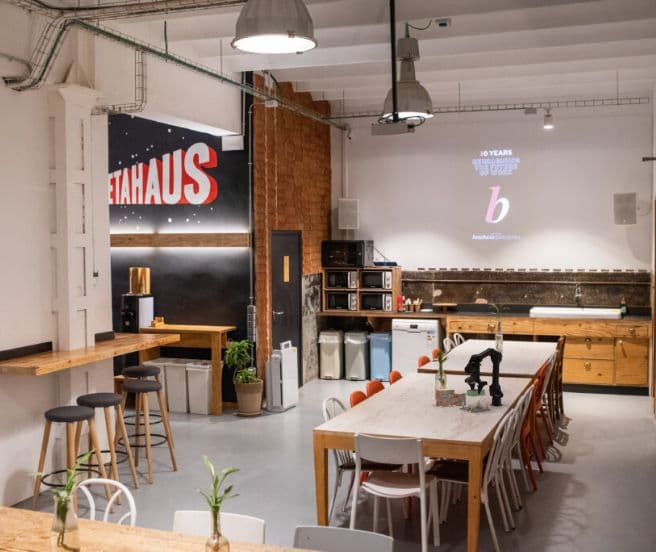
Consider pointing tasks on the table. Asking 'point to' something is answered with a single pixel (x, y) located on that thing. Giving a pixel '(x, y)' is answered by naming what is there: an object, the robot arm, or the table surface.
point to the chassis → (475, 407)
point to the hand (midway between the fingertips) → (475, 393)
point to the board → (475, 392)
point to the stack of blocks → (449, 397)
